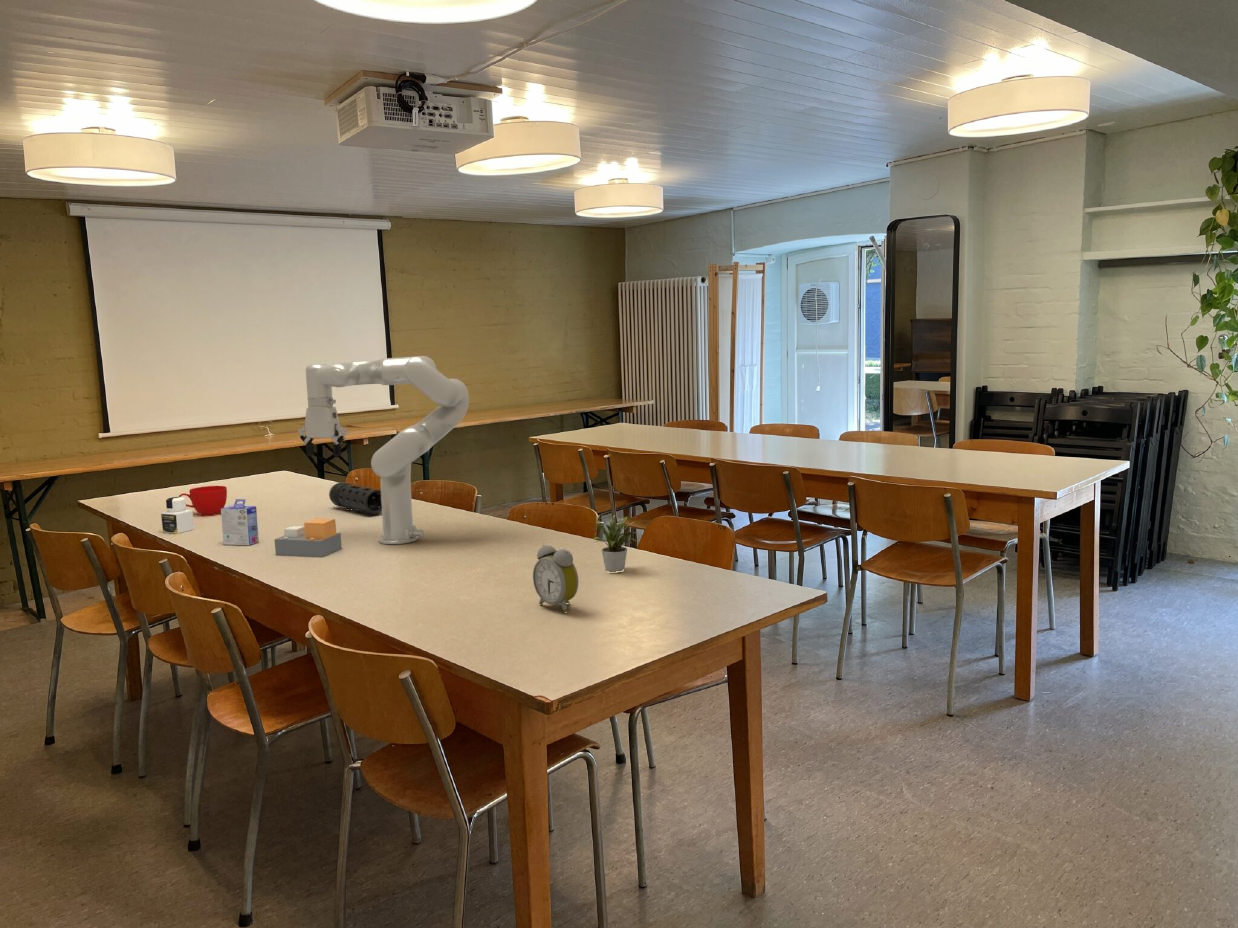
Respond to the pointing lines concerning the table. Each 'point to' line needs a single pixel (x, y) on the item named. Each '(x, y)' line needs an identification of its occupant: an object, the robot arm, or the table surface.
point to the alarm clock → (555, 576)
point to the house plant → (614, 545)
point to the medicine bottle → (177, 516)
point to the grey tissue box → (307, 546)
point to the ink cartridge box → (239, 524)
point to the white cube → (294, 531)
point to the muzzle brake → (356, 498)
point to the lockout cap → (320, 528)
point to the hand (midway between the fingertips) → (324, 456)
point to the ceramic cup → (207, 499)
